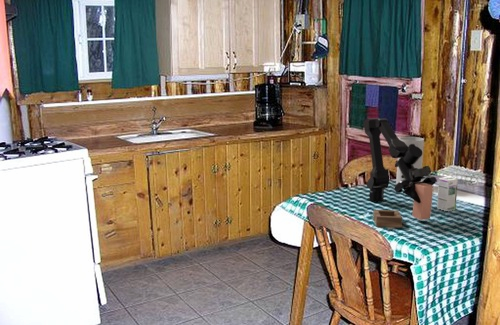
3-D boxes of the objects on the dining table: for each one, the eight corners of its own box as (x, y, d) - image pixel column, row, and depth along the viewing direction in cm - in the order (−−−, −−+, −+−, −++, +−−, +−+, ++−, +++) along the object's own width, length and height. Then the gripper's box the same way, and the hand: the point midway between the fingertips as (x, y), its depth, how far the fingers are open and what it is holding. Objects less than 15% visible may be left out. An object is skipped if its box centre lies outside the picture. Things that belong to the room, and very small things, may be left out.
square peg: (412, 216, 216) (415, 184, 213) (421, 214, 219) (424, 182, 215) (420, 220, 212) (423, 187, 209) (430, 218, 214) (433, 185, 211)
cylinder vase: (424, 184, 274) (427, 138, 269) (415, 189, 265) (418, 141, 259) (401, 181, 282) (404, 136, 277) (392, 186, 272) (394, 139, 267)
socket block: (373, 218, 219) (373, 209, 218) (397, 219, 218) (397, 210, 217) (376, 226, 210) (376, 217, 209) (401, 227, 209) (402, 217, 208)
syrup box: (446, 212, 228) (449, 180, 225) (436, 208, 233) (438, 177, 230) (455, 210, 231) (458, 178, 228) (445, 206, 236) (447, 175, 233)
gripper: (400, 161, 210) (418, 194, 202) (435, 157, 218) (453, 189, 210) (386, 176, 218) (403, 208, 211) (420, 171, 226) (437, 202, 219)
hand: (425, 201), depth 213 cm, fingers closed on square peg, 5 cm apart
